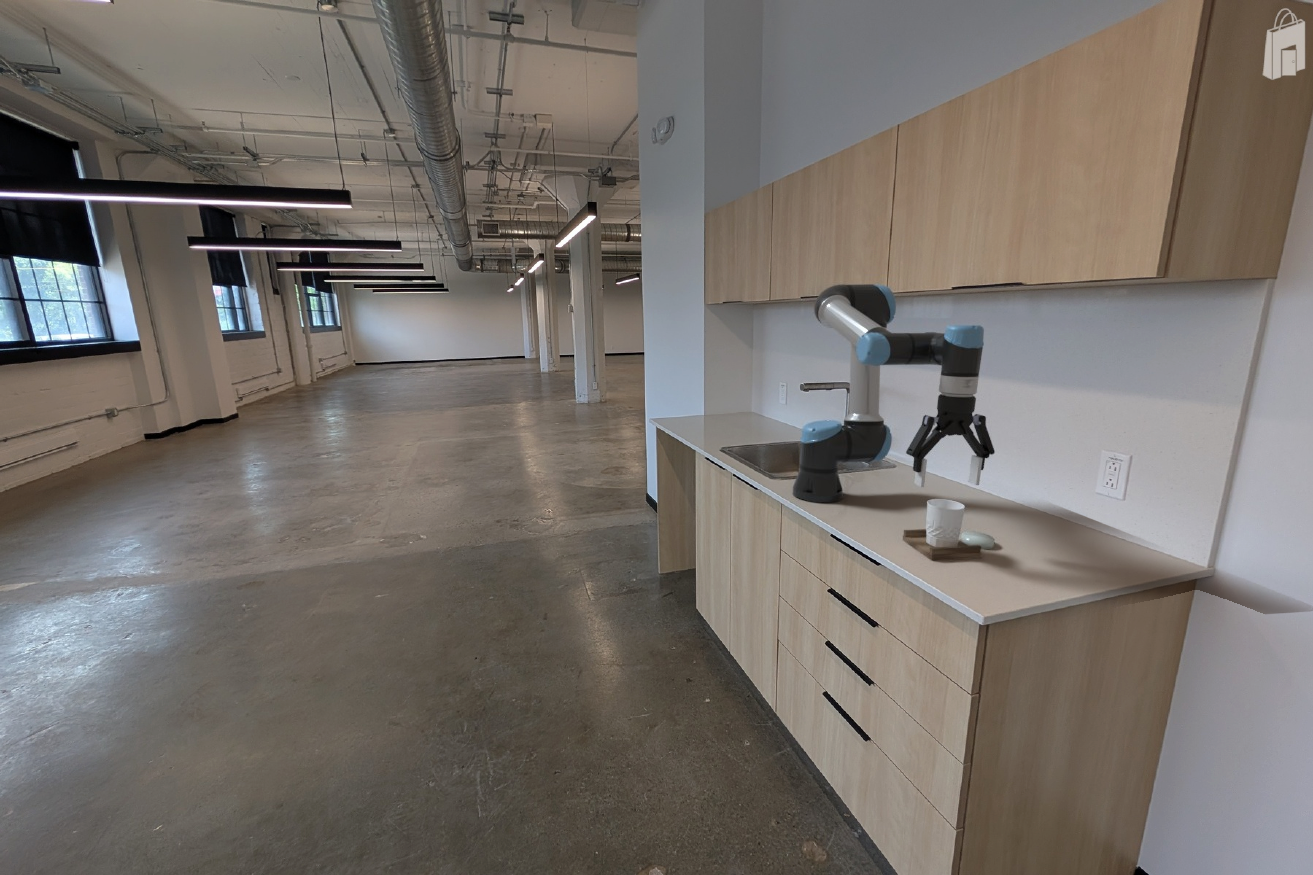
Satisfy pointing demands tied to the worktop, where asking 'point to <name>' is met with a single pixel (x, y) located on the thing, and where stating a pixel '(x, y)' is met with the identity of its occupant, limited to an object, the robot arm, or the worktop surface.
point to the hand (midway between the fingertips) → (946, 484)
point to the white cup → (943, 522)
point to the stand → (940, 553)
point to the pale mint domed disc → (978, 539)
